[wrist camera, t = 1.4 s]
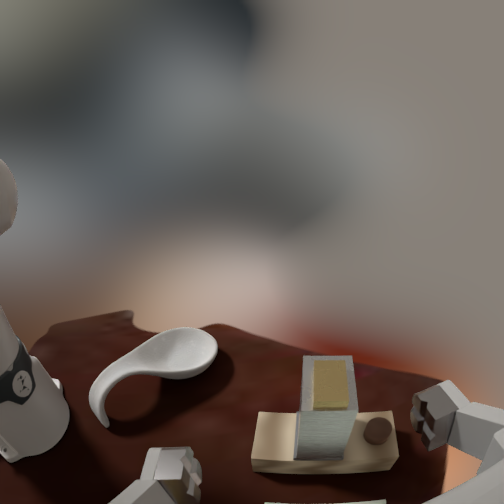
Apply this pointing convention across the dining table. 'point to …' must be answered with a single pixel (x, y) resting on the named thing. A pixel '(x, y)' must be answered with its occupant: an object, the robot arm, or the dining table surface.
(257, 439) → the block plane
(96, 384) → the spoon rest
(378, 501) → the mat
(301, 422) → the grey tall block
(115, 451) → the dining table surface
